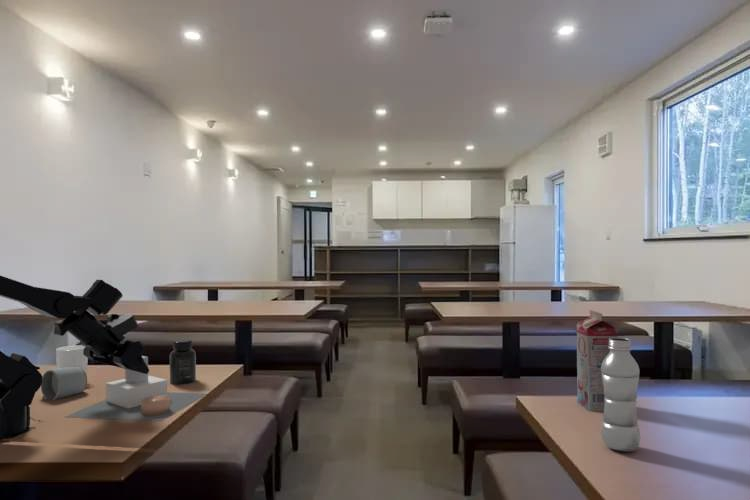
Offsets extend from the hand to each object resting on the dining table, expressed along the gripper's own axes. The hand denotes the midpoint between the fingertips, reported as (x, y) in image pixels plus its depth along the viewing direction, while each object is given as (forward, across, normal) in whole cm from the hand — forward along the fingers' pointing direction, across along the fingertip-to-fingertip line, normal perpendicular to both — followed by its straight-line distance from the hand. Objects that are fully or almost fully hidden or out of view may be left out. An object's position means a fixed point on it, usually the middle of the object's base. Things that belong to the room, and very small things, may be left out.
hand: (137, 369), depth 124 cm
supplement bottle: (+18, +6, -6) cm, 20 cm away
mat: (+4, -5, +7) cm, 9 cm away
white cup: (+5, +34, +6) cm, 34 cm away
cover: (+5, 0, +5) cm, 7 cm away
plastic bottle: (+30, -103, -18) cm, 108 cm away
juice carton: (+48, -93, -35) cm, 111 cm away
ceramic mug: (0, +21, +12) cm, 24 cm away
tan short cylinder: (+3, -12, +7) cm, 15 cm away
